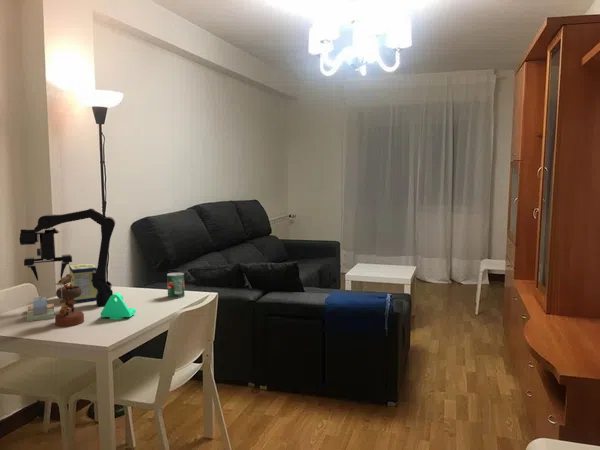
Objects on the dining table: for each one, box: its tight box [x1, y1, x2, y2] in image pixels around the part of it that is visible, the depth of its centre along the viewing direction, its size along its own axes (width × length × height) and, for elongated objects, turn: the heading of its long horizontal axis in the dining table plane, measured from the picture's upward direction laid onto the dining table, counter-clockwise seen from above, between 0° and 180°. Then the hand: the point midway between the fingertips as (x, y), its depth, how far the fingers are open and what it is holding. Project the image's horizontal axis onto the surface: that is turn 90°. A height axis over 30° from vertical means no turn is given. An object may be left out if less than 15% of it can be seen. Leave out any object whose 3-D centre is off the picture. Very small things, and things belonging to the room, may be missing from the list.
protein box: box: [68, 262, 97, 304], centre depth 247 cm, size 10×16×16 cm
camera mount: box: [100, 292, 137, 320], centre depth 216 cm, size 12×8×10 cm, turn 87°
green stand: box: [26, 307, 55, 322], centre depth 216 cm, size 10×9×2 cm
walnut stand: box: [27, 303, 55, 311], centre depth 225 cm, size 10×7×2 cm
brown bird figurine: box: [54, 273, 85, 328], centre depth 208 cm, size 15×11×20 cm
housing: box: [32, 296, 48, 315], centre depth 216 cm, size 7×5×6 cm
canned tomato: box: [166, 271, 186, 299], centre depth 250 cm, size 8×8×11 cm
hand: (49, 279), depth 229 cm, fingers open, 9 cm apart
